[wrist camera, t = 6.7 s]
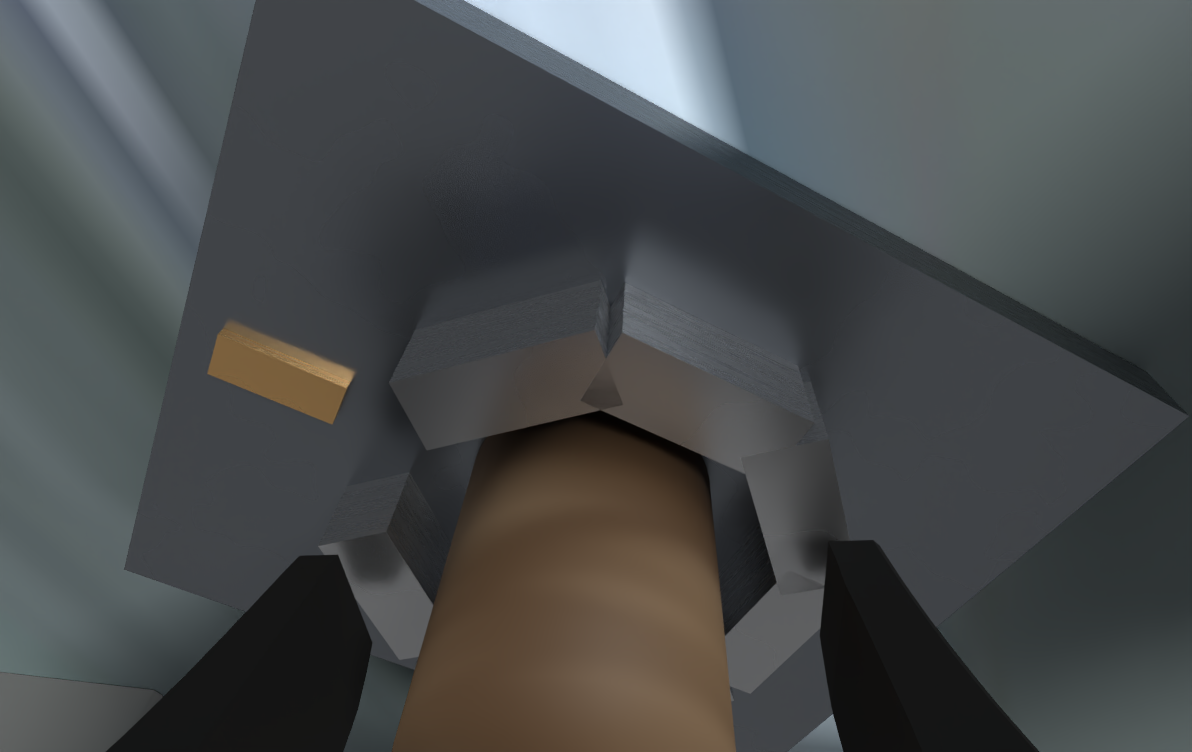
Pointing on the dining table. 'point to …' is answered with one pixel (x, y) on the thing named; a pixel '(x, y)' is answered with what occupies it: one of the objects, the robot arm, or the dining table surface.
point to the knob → (577, 602)
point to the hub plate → (587, 345)
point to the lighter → (67, 713)
